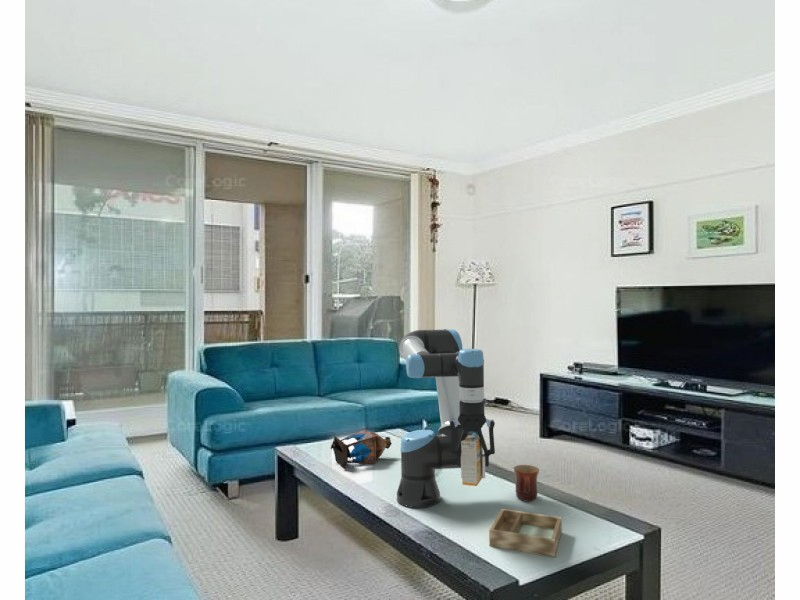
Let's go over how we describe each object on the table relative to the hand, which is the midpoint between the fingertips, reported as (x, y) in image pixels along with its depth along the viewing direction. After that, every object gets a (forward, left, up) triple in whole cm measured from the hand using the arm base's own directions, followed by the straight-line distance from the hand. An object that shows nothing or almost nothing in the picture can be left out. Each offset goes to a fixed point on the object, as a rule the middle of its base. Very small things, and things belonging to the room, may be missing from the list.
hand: (473, 476), depth 163 cm
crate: (+16, 0, -16) cm, 23 cm away
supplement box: (0, 0, -2) cm, 2 cm away
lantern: (-61, +46, -17) cm, 78 cm away
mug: (+11, +29, -16) cm, 35 cm away
